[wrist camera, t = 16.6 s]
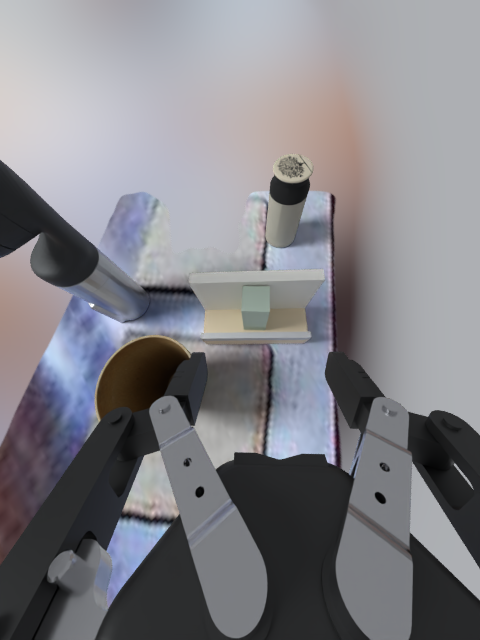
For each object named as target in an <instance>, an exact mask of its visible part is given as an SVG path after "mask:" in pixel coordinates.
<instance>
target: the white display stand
mask: <svg viewBox="0 0 480 640" xmlns="http://www.w3.org/2000/svg"><path fill="white" fill-rule="evenodd" d="M324 281H325V277H324V270H323V269H304V270H270V271H236V272H202V273H190V274H189V285H190V287H191V288H192V290H193V291H194V293H195V295H196V296H197V298H198V299H199V301H200V303H201V304H202V306H203V307H204V309H205V320H204V333H201V339H202V340H203V341H204V342H205V343H206V344H304V343H305V342H306V341H308V340H309V339H310V338H311V332H308V330H307V322H306V313H305V307H306V306H307V305H308V303H309V302H310V300H311V299H312V298H313V296H314V295H315V293H316V292H317V290H318V289H319V288H320V286H321V285H322V283H323V282H324ZM243 286H270V313H269V317H268V321H267V325H266V329H265V330H244V327H243V320H242V312H241V308H242V290H243Z"/></svg>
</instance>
